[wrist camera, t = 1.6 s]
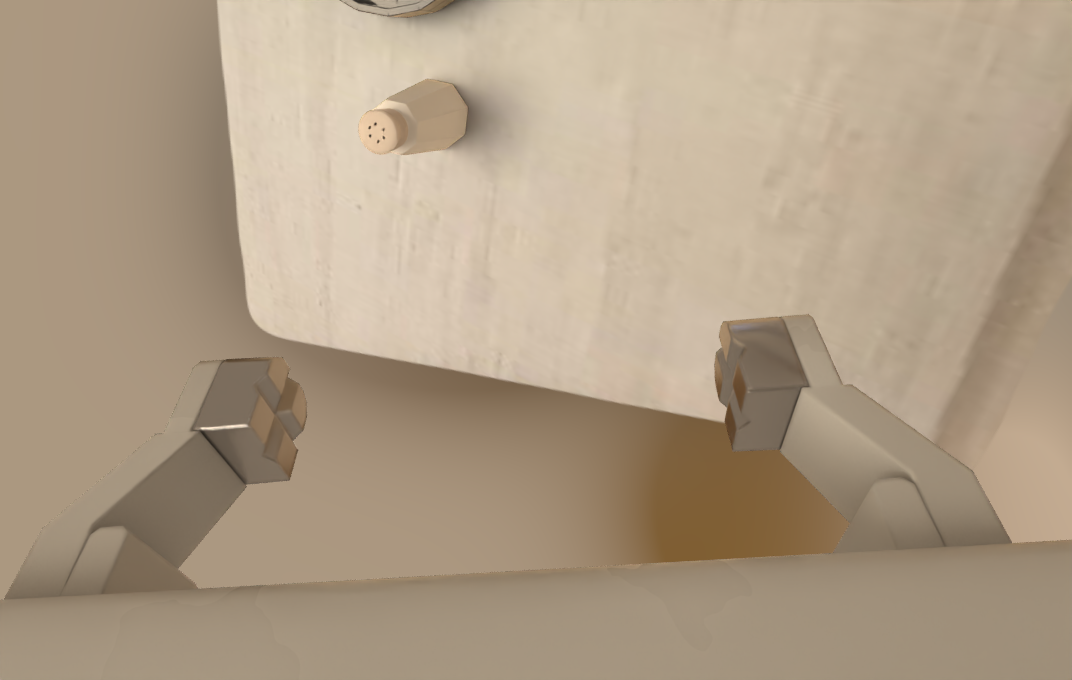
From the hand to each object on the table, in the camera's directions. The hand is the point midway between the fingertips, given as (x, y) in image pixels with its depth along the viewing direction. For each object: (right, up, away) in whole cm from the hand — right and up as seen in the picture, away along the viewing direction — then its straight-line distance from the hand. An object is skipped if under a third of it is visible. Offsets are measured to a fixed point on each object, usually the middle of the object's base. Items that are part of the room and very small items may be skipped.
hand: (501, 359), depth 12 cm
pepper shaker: (-7, +18, +39) cm, 44 cm away
